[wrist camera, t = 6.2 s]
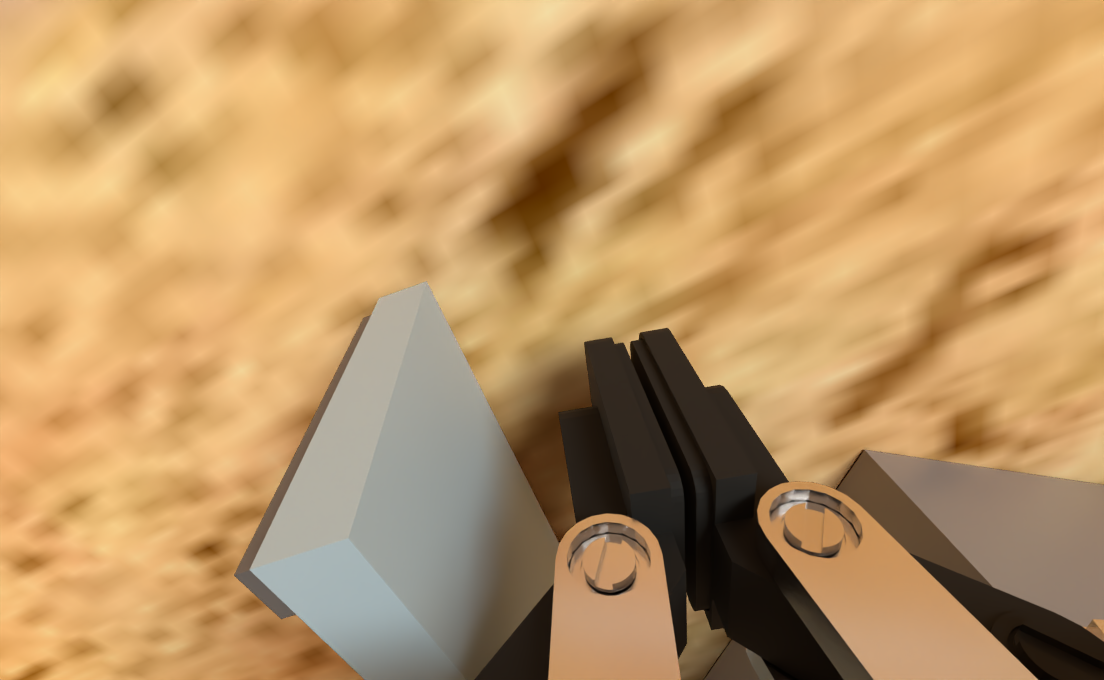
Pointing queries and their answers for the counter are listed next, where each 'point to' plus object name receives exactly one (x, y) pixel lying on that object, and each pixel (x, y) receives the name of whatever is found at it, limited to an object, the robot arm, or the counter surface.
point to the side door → (404, 510)
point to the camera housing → (981, 532)
